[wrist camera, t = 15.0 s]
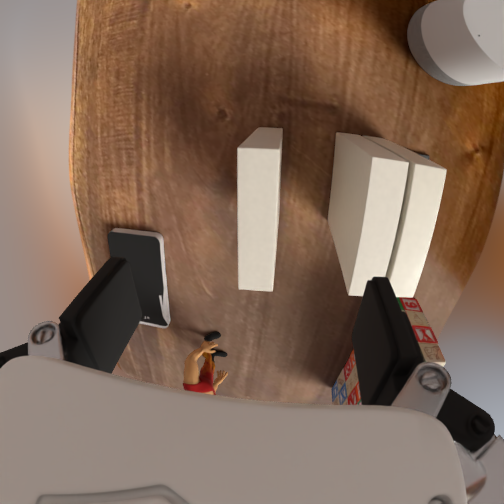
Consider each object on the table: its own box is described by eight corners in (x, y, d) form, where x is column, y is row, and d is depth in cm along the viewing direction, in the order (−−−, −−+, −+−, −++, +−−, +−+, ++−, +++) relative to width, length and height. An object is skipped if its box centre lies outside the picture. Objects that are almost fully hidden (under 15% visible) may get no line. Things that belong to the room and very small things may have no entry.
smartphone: (159, 237, 35) (168, 329, 42) (163, 232, 36) (171, 323, 43) (106, 231, 36) (123, 319, 43) (111, 226, 37) (126, 314, 44)
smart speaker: (449, 6, 18) (521, -21, 6) (480, 77, 22) (562, 83, 10) (384, 17, 21) (443, -24, 9) (420, 94, 25) (498, 100, 13)
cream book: (258, 127, 29) (236, 147, 17) (282, 128, 29) (280, 148, 17) (256, 216, 34) (237, 289, 22) (278, 217, 34) (272, 292, 21)
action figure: (233, 363, 46) (216, 444, 33) (212, 363, 47) (191, 442, 34) (219, 320, 42) (194, 408, 29) (196, 321, 43) (165, 405, 30)
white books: (335, 132, 28) (372, 156, 16) (429, 146, 27) (503, 183, 15) (327, 220, 33) (347, 295, 21) (414, 228, 32) (466, 298, 20)
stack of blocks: (363, 390, 47) (371, 449, 36) (330, 388, 47) (334, 449, 37) (417, 297, 37) (447, 363, 26) (378, 292, 37) (402, 362, 26)
